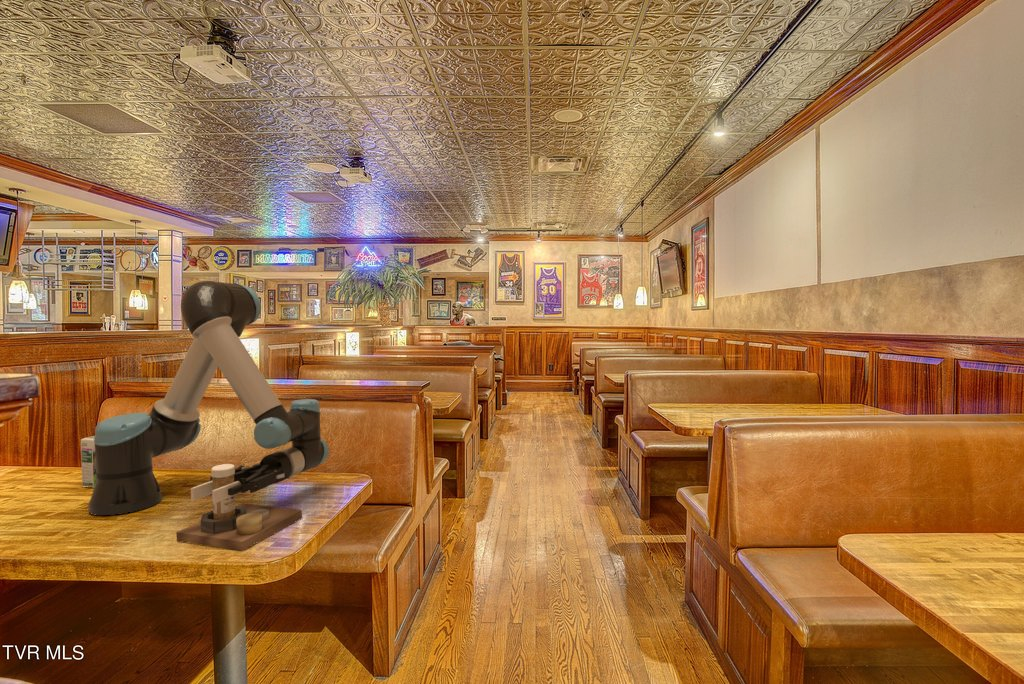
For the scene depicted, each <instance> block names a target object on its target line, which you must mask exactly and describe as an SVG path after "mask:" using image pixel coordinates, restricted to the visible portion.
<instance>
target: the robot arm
mask: <svg viewBox="0 0 1024 684" xmlns="http://www.w3.org/2000/svg"><path fill="white" fill-rule="evenodd" d="M180 312H181V316H182V320H184V321H183V322H184V323H185V325H186V327H187V329H188V331H189V333H191V335H192V337H193V340H192V342H191V344H190V347H189V348H188V350H187V352H186V354H185V356H184V358H183V360H182V362H181V364H180V366H179V368H178V370H177V372H176V373H175V376H174V378H173V380H172V382H171V384H170V386H169V388H168V390H167V392H166V394H165V396H164V398H162V399H158V400H156V401H155V403H154V404H153V406H152V408H151V410H150V412H149V413H146V412H134V413H133V412H130V413H126V414H121V415H116V416H112V417H108V418H107V419H104V420H101V421H100V422H99V423H98V424H97V425H96V426H95V428H94V429H95V430H94V436H95V438H94V443H95V457H96V475H97V481H96V485H95V487H94V488H93V491H92V494H91V497H90V500H89V502H88V513H89V512H90V513H92V514H96V515H111V516H116V515H115V514H119V515H123V514H122V513H125V514H129V513H128V512H130V513H133V512H134V511H135V512H138V510H139V511H141V510H145V509H148V508H150V507H153V506H155V505H157V504H158V503H160V502H161V501H162V499H163V495H162V493H163V492H162V489H161V488H160V485H159V483H158V481H157V478H156V476H155V474H154V471H153V458H156V457H159V456H163V455H165V454H169V453H171V452H176V451H179V450H182V449H183V448H186V447H188V446H190V445H192V444H193V442H194V441H196V440H197V439H198V436H199V435H200V433H201V428H202V427H201V426H202V425H201V424H200V422H201V419H200V417H201V416H200V415H201V414H200V411H199V410H198V407H199V405H200V404H201V401H202V399H203V397H204V396H205V393H206V391H207V389H208V388H209V385H210V384H211V382H212V380H213V378H214V376H215V373H216V372H217V370H218V368H219V370H220V371H221V373H222V374H223V376H224V378H225V379H226V381H227V382H228V384H229V385H230V386H231V388H232V390H233V392H234V393H235V394H236V396H237V398H238V399H239V400H240V403H242V405H243V406H244V408H245V410H246V411H247V413H248V415H249V416H250V417H251V419H252V420H253V422H254V423H255V426H254V430H253V436H254V438H253V439H254V441H255V442H256V444H257V445H258V446H259V447H260V448H264V449H267V450H268V449H270V450H271V449H275V448H279V447H281V446H285V445H286V444H288V443H290V442H291V446H289V447H287V448H283V449H280V450H278V451H275V452H273V453H270V454H268V455H267V454H266V455H264V457H262V459H261V460H260V462H259V463H256V464H253V465H252V466H249V467H245V465H240V466H237V467H235V473H234V482H233V483H231V484H228V485H226V486H223V487H220V488H218V489H215V490H213V479H212V476H210V478H209V480H210V481H207V482H205V483H201V484H199V485H196V486H194V487H191V488H190V499H191V501H192V502H195V501H197V500H200V499H202V498H205V497H208V496H211V500H212V504H213V503H217V502H220V501H222V500H225V499H227V498H229V497H232V496H234V495H235V496H237V495H240V494H241V493H242V494H245V493H247V492H249V493H252V494H253V493H256V492H258V491H259V490H262V489H265V488H267V487H269V486H272V485H275V484H279V483H280V482H283V481H286V479H288V480H290V479H292V477H295V476H296V475H298V474H301V473H303V472H306V471H309V470H311V469H314V468H317V467H318V466H320V465H322V464H323V463H325V462H326V461H327V459H328V458H329V454H330V448H329V447H328V443H327V442H326V441H325V440H324V439H322V438H321V409H320V402H319V400H317V399H313V398H305V399H295V400H293V401H291V403H290V408H289V411H287V409H285V407H284V406H283V404H282V402H281V401H280V400H279V398H278V397H277V395H276V393H275V392H274V390H273V388H272V386H271V385H270V384H269V382H268V381H267V380H266V378H265V376H264V375H263V373H262V372H261V370H260V368H259V367H258V364H257V363H256V362H255V361H254V359H253V358H252V356H251V354H250V353H249V351H248V350H247V348H246V347H245V345H244V344H243V342H242V340H241V339H240V338H241V336H242V334H243V332H244V329H245V328H246V326H249V325H251V324H253V323H255V322H256V321H257V320H258V319H259V317H260V315H261V312H262V303H261V301H260V297H259V295H258V294H257V293H256V291H255V290H253V289H252V288H251V287H250V286H247V285H243V284H240V283H236V282H233V283H229V282H220V281H215V280H202V281H198V282H195V283H193V284H192V285H190V286H189V287H188V288H187V289H186V290H185V291H184V293H183V295H182V297H181V300H180ZM90 513H89V514H90Z"/></svg>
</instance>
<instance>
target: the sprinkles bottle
mask: <svg viewBox="0 0 1024 684" xmlns="http://www.w3.org/2000/svg"><path fill="white" fill-rule="evenodd" d="M235 469H236V466H235V464H233V463H223V464H217V465H215V466H213V467H211V472H210V473H211V475H210V477H212V479H213V490H215V489H218V488H220V487H223V486H226V485H228V484H231V483H233V482H234V473H235ZM235 506H236V495H234V496H232V497H229V498H227V499H225V500H222V501H220V502H217V503H212V510H213V513H214V520H220V519H226V518H231V517H233V516H235Z"/></svg>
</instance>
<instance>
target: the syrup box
mask: <svg viewBox="0 0 1024 684" xmlns="http://www.w3.org/2000/svg"><path fill="white" fill-rule="evenodd" d="M94 438H95V435H93V436H88V437H84V438H81V439H80V453H81V456H80V458H81V487H82V486H86V487H87V486H88V487H95V485H96V481H97V475H96V457H95V443H94Z"/></svg>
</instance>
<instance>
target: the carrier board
mask: <svg viewBox="0 0 1024 684" xmlns="http://www.w3.org/2000/svg"><path fill="white" fill-rule="evenodd" d="M301 518H302V519H303V510H302V509H296V508H287V507H280V506H279V507H278V506H270V505H260V504H252V503H244V502H242V503H239V504H238V505H237V504H236V505H235V516H233V517H231V518H226V519H220V520H214V513H213V509H212V510H210V511H208V512H206V513H205V512H204V513H203V514H202V515H201V518H200V521H199V522H195V523H194V524H191V525H189V526H186V527H185V528H183V529H181V530H178V531H176V533H175V534H176V536H175V537H176V542H179V541H183V542H182V543H186V542H190V543H189V544H192V543H196V544H195V545H199V544H202V545H201V546H205V545H209V546H208V547H212V546H214V547H213V548H218V547H221V548H220V549H225V548H227V549H226V550H231V551H232V550H233V551H238V550H239V551H241V552H244V551H246V550H247V549H246V548H248V547H249V548H251V547H252V546H251V545H253V544H254V543H256V542H258V543H260V542H262V541H263V539H264V540H265V538H266V539H267V538H269V537H271V536H273V535H274V533H275V534H276V533H278V532H280V531H282V530H283V528H284V529H285V528H287V527H289V526H290V524H291V525H292V523H293V524H294V523H296V522H298V521H300V520H302V519H301ZM299 519H300V520H299ZM297 520H298V521H297ZM295 521H296V522H295ZM288 525H289V526H288ZM281 529H282V530H281ZM272 534H273V535H272ZM261 540H262V541H261ZM259 541H260V542H259ZM250 546H251V547H250ZM253 546H254V545H253ZM249 548H248V549H249ZM245 549H246V550H245ZM243 550H244V551H243ZM239 551H238V552H239Z"/></svg>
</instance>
